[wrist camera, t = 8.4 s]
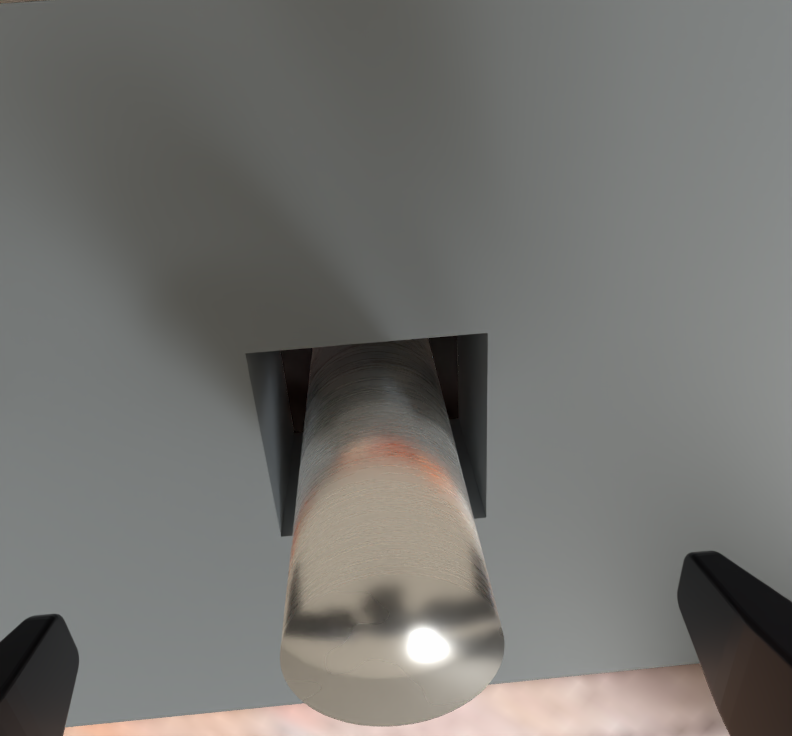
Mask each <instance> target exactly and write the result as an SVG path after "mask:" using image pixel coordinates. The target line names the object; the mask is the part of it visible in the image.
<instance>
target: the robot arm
mask: <svg viewBox="0 0 792 736" xmlns="http://www.w3.org/2000/svg"><path fill="white" fill-rule="evenodd" d="M677 601H678V606H679V609H680V612H681V615H682V617H683V620H684V622H685V625H686V628H687V630H688V633H689V636H690V638H691V641H692V644H693V646H694V649H695V651H696V654H697V657H698V659H699V662H700V665H701V667H702V670H703V673H704V675H705V678H706V681H707V683H708V686H709V688H710V691H711V694H712V696H713V699H714V701H715V704H716V706H717V709H718V711H719V713H720V715H721V717H722V720H723V722H724V724H725V726H726V728H727V730H728V732H729V734H730V736H792V601H790V600H789V599H787V598H786V597H784V596H783V595H781V594H780V593H778V592H777V591H775V590H774V589H773V588H771V587H770V586H768V585H767V584H765V583H764V582H762V581H761V580H759V579H758V578H756V577H755V576H753V575H752V574H750V573H749V572H747V571H746V570H744V569H743V568H742V567H740V566H739V565H737V564H736V563H734V562H733V561H731V560H730V559H728V558H727V557H725V556H724V555H722V554H721V553H719V552H716V551H712V550H710V551H699V552H690V553H688V554H687V555H686V556H685V558H684V561H683V566H682V570H681V575H680V580H679V584H678V589H677ZM78 668H79V653H78V649H77V647H76V644H75V642H74V640H73V638H72V636H71V633H70V631H69V629H68V627H67V624H66V622H65V620H64V618H63V617H62V616H61V615H59V614H44V615H35V616H31V617H28V618H27V619H25V620H24V621H22V622H21V623H20V624H19V625H18V626H17V627H16V628H15V629H14V630H12V631H11V632H10V633H9V634H8V635H7V636H6V637H5V638H4V639H2V640H1V641H0V736H63V734H64V730H65V725H66V721H67V717H68V712H69V708H70V704H71V699H72V695H73V690H74V686H75V682H76V677H77V673H78Z"/></svg>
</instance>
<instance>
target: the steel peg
mask: <svg viewBox="0 0 792 736" xmlns="http://www.w3.org/2000/svg"><path fill="white" fill-rule="evenodd" d="M504 647H505V645H504V635H503V631H502V627H501V623H500V619H499V615H498V611H497V607H496V603H495V599H494V595H493V591H492V588H491V584H490V580H489V576H488V572H487V568H486V564H485V560H484V556H483V552H482V548H481V544H480V540H479V536H478V532H477V528H476V525H475V521H474V517H473V513H472V509H471V505H470V501H469V497H468V493H467V489H466V485H465V481H464V477H463V473H462V469H461V466H460V462H459V458H458V454H457V450H456V446H455V442H454V438H453V434H452V430H451V426H450V422H449V418H448V414H447V410H446V406H445V403H444V399H443V395H442V391H441V387H440V383H439V379H438V375H437V371H436V367H435V363H434V359H433V355H432V351H431V347H430V344H429V340H428V338H421V339H409V340H398V341H386V342H374V343H362V344H350V345H338V346H327V347H315V348H312V356H311V366H310V375H309V385H308V394H307V403H306V413H305V422H304V432H303V441H302V451H301V460H300V469H299V479H298V488H297V498H296V507H295V516H294V526H293V535H292V545H291V554H290V563H289V573H288V582H287V592H286V601H285V610H284V620H283V629H282V639H281V648H280V665H281V670H282V673H283V676H284V679H285V681H286V682H287V684H288V686H289V687H290V689H291V690H292V691H293V693H294V694H295V695H296V696H297V697H298V698H299V699H300V700H301V701H303V702H304V703H305V704H307V705H308V706H309V707H311V708H312V709H314V710H316V711H318V712H320V713H322V714H324V715H326V716H329V717H331V718H334V719H337V720H340V721H344V722H347V723H352V724H358V725H366V726H401V725H408V724H414V723H419V722H423V721H427V720H430V719H434V718H437V717H440V716H442V715H445V714H447V713H449V712H452V711H454V710H455V709H457V708H459V707H461V706H463V705H464V704H466V703H467V702H469V701H471V700H472V699H473V698H475V697H476V696H477V695H478V694H479V693H481V692H482V691H483V690H484V689H485V688H486V686H487V685H488V684H489V683H490V682H491V680H492V679H493V678H494V676H495V675H496V673H497V671H498V669H499V667H500V665H501V662H502V659H503V655H504Z"/></svg>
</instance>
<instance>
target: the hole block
mask: <svg viewBox="0 0 792 736" xmlns="http://www.w3.org/2000/svg"><path fill="white" fill-rule="evenodd" d="M445 336H457V357H458V416H459V418H458V419H449V422H450V426H451V430H452V434H453V438H454V442H455V446H456V450H457V454H458V458H459V462H460V466H461V469H462V473H463V477H464V481H465V485H466V489H467V493H468V497H469V501H470V505H471V509H472V513H473V517H474V521H475V525H476V528H477V532H478V536H479V540H480V544H481V548H482V552H483V556H484V560H485V564H486V568H487V572H488V576H489V580H490V584H491V588H492V591H493V595H494V599H495V603H496V607H497V611H498V615H499V619H500V623H501V627H502V631H503V635H504V645H505V647H504V655H503V659H502V662H501V665H500V667H499V669H498V671H497V673H496V675H495V676H494V678H493V679H492V680H491V682H490V683H489V684H499V683H509V682H519V681H529V680H539V679H549V678H559V677H569V676H579V675H588V674H598V673H608V672H618V671H628V670H638V669H648V668H658V667H668V666H678V665H688V664H698V663H700V662H699V659H698V657H697V654H696V651H695V649H694V646H693V644H692V641H691V638H690V636H689V633H688V630H687V628H686V625H685V622H684V620H683V617H682V615H681V612H680V609H679V606H678V601H677V589H678V584H679V580H680V575H681V570H682V566H683V561H684V558H685V556H686V555H687V554H688V553H690V552H699V551H710V550H712V551H716V552H719V553H721V554H722V555H724V556H725V557H727V558H728V559H730V560H731V561H733V562H734V563H736V564H737V565H739V566H740V567H742V568H743V569H744V570H746V571H747V572H749V573H750V574H752V575H753V576H755V577H756V578H758V579H759V580H761V581H762V582H764V583H765V584H767V585H768V586H770V587H771V588H773V589H774V590H775V591H777V592H778V593H780V594H781V595H783V596H784V597H786V598H787V599H789V600H790V601H792V0H45V1H30V2H15V3H1V4H0V641H1V640H2V639H4V638H5V637H6V636H7V635H8V634H9V633H10V632H11V631H12V630H14V629H15V628H16V627H17V626H18V625H19V624H20V623H21V622H22V621H24V620H25V619H27V618H28V617H31V616H35V615H44V614H59V615H61V616H62V617H63V618H64V620H65V622H66V624H67V627H68V629H69V631H70V633H71V636H72V638H73V640H74V642H75V644H76V647H77V649H78V653H79V668H78V673H77V677H76V682H75V686H74V690H73V695H72V699H71V704H70V708H69V712H68V717H67V721H66V725H65V727H73V726H83V725H93V724H103V723H113V722H123V721H132V720H142V719H152V718H162V717H172V716H182V715H192V714H202V713H212V712H222V711H232V710H241V709H251V708H261V707H271V706H281V705H291V704H301V703H304V702H303V701H301V700H300V699H299V698H298V697H297V696H296V695H295V694H294V693H293V691H292V690H291V689H290V687H289V686H288V684H287V682H286V681H285V679H284V676H283V673H282V670H281V665H280V648H281V639H282V629H283V620H284V610H285V601H286V592H287V582H288V573H289V563H290V554H291V545H292V535H293V526H294V516H295V507H296V498H297V488H298V479H299V469H300V460H301V451H302V441H303V432H299V433H294V428H293V422H292V416H291V410H290V404H289V398H288V392H287V386H286V380H285V374H284V368H283V362H282V356H281V350H291V349H303V348H315V347H327V346H338V345H350V344H362V343H374V342H386V341H398V340H409V339H421V338H433V337H445ZM489 684H488V685H489Z"/></svg>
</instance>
